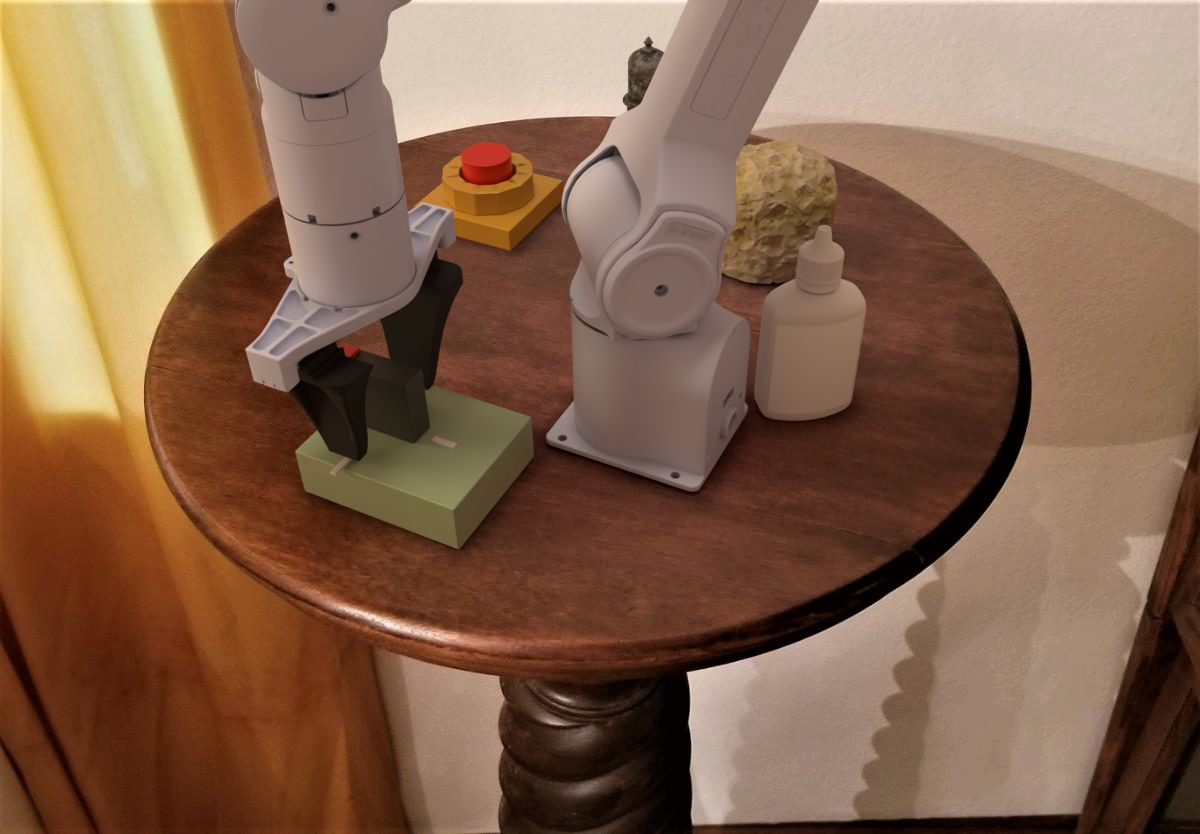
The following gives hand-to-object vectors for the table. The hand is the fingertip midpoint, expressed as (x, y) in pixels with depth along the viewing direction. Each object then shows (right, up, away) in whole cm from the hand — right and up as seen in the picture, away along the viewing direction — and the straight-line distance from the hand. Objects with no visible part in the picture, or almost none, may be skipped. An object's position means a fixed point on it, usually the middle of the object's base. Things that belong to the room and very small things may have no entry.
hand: (383, 415), depth 62 cm
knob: (0, 0, 0) cm, 0 cm away
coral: (+23, +12, +19) cm, 32 cm away
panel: (+2, -3, +2) cm, 4 cm away
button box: (+4, +15, +23) cm, 28 cm away
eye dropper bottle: (+24, +1, +6) cm, 24 cm away
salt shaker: (+15, +17, +25) cm, 34 cm away
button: (+4, +17, +21) cm, 28 cm away
